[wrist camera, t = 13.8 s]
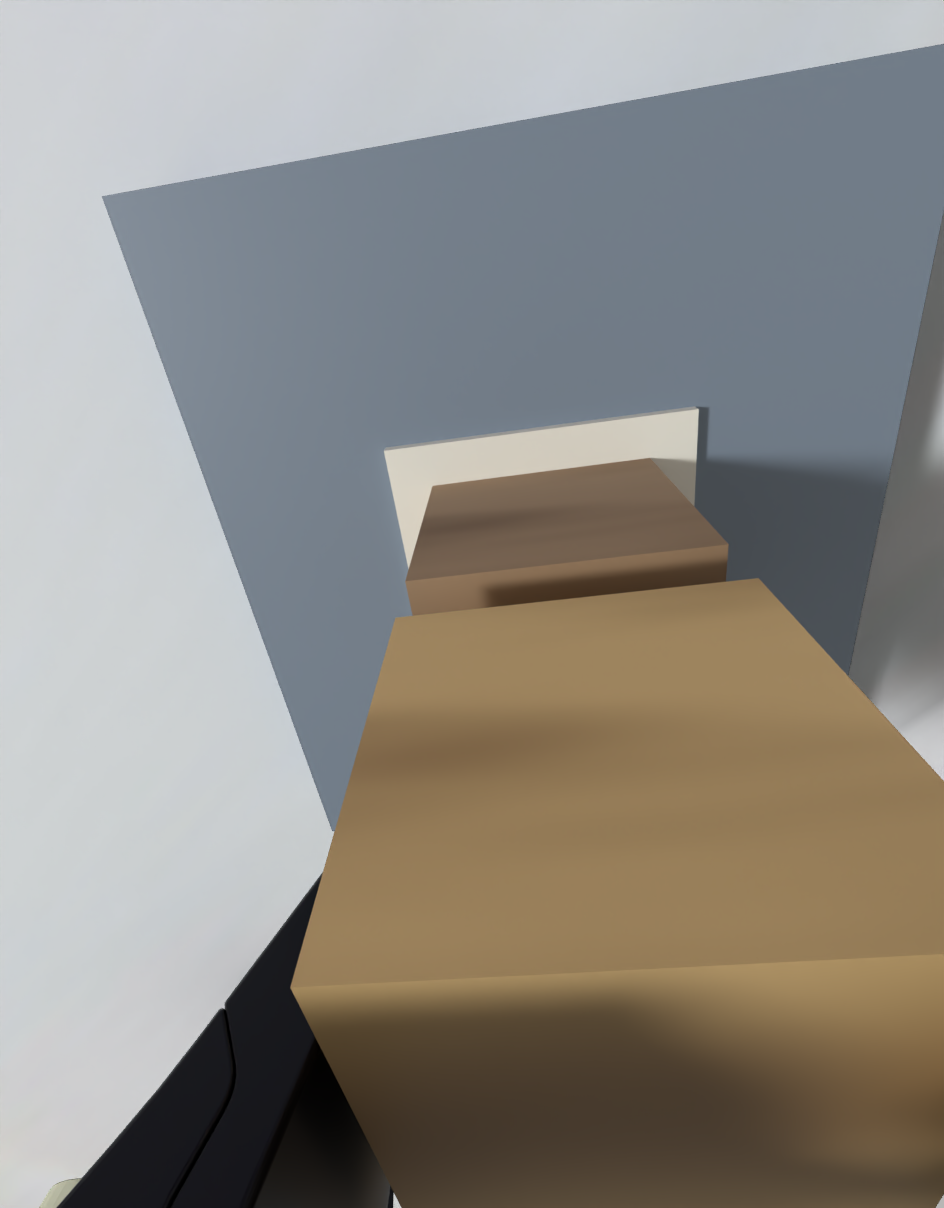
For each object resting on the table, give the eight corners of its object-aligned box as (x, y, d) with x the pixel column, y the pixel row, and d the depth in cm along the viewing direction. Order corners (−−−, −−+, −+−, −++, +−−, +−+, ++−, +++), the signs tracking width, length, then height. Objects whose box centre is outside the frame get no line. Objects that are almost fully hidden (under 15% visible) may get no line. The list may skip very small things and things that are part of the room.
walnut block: (649, 643, 16) (710, 783, 11) (463, 661, 16) (453, 803, 12) (650, 458, 13) (728, 544, 9) (432, 485, 14) (405, 581, 9)
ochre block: (732, 833, 10) (912, 1243, 6) (450, 853, 11) (422, 1248, 6) (758, 578, 8) (1096, 945, 4) (394, 617, 8) (290, 987, 4)
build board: (794, 750, 20) (828, 802, 18) (345, 786, 22) (330, 838, 20) (906, 73, 12) (992, 30, 10) (153, 207, 13) (92, 194, 11)
